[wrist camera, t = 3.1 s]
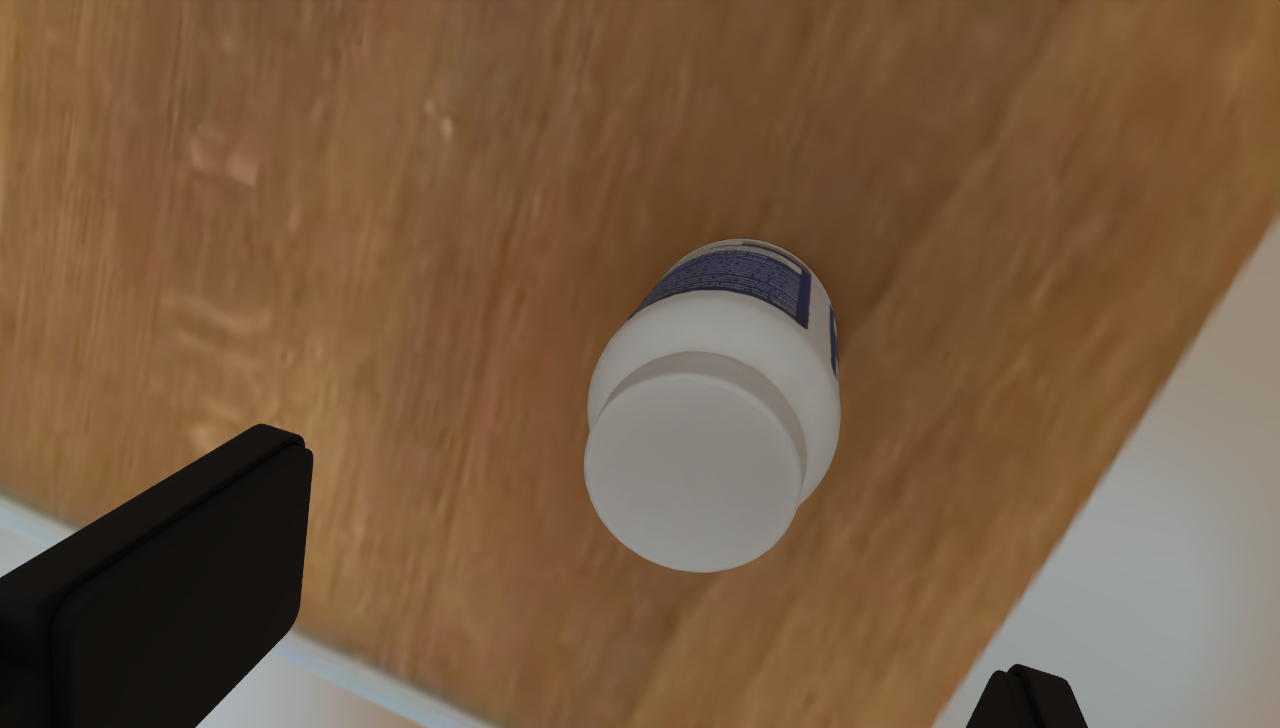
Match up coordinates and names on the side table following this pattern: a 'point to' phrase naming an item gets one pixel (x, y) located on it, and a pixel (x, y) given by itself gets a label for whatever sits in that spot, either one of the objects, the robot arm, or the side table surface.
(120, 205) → the side table surface
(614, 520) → the pill bottle
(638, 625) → the side table surface
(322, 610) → the side table surface
